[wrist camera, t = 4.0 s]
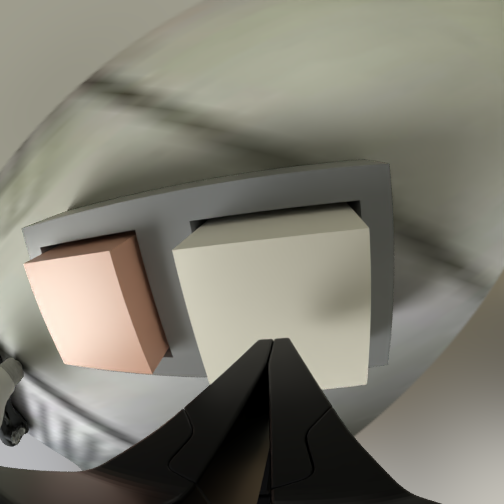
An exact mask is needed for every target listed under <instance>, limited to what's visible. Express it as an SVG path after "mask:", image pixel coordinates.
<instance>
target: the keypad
mask: <svg viewBox="0 0 504 504" xmlns="http://www.w3.org/2000/svg"><path fill="white" fill-rule="evenodd" d="M337 202H346V203H347V204H348V205H349V206H350V207H351V208H352V209H353V210H354V211H355V213H356V214H357V215H358V216H359V217H360V218H361V219H362V220H363V222H364V223H365V224H366V225H367V226H368V227H369V233H370V258H371V321H370V346H369V363H368V368H370V367H377V366H384V365H388V360H389V351H390V340H391V328H392V313H393V293H394V224H393V203H392V188H391V176H390V166H389V163H383V162H378V161H372V160H366V159H363V160H351V161H340V162H330V163H320V164H311V165H302V166H294V167H286V168H278V169H271V170H263V171H256V172H250V173H243V174H237V175H231V176H224V177H219V178H213V179H207V180H201V181H196V182H191V183H185V184H180V185H175V186H170V187H165V188H160V189H156V190H151V191H146V192H142V193H137V194H133V195H128V196H124V197H120V198H116V199H111V200H107V201H103V202H99V203H95V204H91V205H88V206H84V207H80V208H76V209H73V210H69V211H65V212H63V213H60V214H57V215H55V216H52V217H49V218H47V219H44V220H42V221H39V222H36V223H34V224H31V225H29V226H26V227H24V228H22V232H23V236H24V239H25V243H26V247H27V250H28V254H29V257H30V260H32V259H33V258H35V257H37V256H39V255H41V254H43V253H45V252H47V251H49V250H51V249H52V248H54V247H56V246H58V245H60V244H62V243H65V242H70V241H75V240H80V239H86V238H91V237H97V236H102V235H108V234H113V233H119V232H125V231H131V230H135V232H136V236H137V240H138V244H139V248H140V252H141V255H142V259H143V263H144V267H145V270H146V274H147V277H148V281H149V284H150V288H151V291H152V295H153V298H154V301H155V304H156V308H157V311H158V314H159V317H160V320H161V323H162V326H163V329H164V332H165V335H166V338H167V341H168V344H169V348H168V350H167V351H166V353H165V355H164V356H163V358H162V359H161V361H160V363H159V364H158V366H157V368H156V369H155V371H154V372H153V374H148V375H162V376H181V377H207V374H206V371H205V368H204V365H203V361H202V358H201V355H200V352H199V348H198V345H197V342H196V338H195V335H194V332H193V328H192V325H191V321H190V318H189V314H188V310H187V307H186V303H185V299H184V296H183V292H182V288H181V284H180V280H179V277H178V273H177V269H176V265H175V261H174V256H173V252H172V250H173V249H174V248H175V247H176V246H178V245H179V244H180V243H181V242H182V241H183V240H185V239H186V238H187V237H188V236H189V235H191V234H192V233H193V232H194V231H195V230H196V229H198V228H199V227H200V226H201V225H202V224H204V223H205V222H206V221H207V220H208V219H210V218H215V217H222V216H229V215H236V214H244V213H251V212H259V211H267V210H275V209H283V208H292V207H300V206H309V205H318V204H328V203H337ZM73 366H74V365H73ZM77 367H81V366H77ZM84 368H88V367H84ZM91 369H95V368H91ZM99 370H103V369H99ZM107 371H112V370H107ZM115 372H121V371H115ZM125 373H131V372H125ZM136 374H143V373H136Z"/></svg>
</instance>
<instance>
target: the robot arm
mask: <svg viewBox="0 0 504 504" xmlns="http://www.w3.org/2000/svg"><path fill="white" fill-rule="evenodd" d="M184 409H185V410H184ZM184 409H182V410H181V411H180V412H178V413H177V414H176V415H175V416H174V417H172V418H171V419H170V420H169V421H167V422H166V423H165V424H164V425H162V426H161V427H160V428H159V429H157V430H156V431H154V432H153V433H151V434H150V435H149V436H147V437H146V438H144V439H143V440H141V441H140V442H138V443H136V444H135V445H133V446H132V447H130V448H129V449H127V450H125V451H124V452H122V453H120V454H119V455H117V456H116V457H114V458H112V459H111V460H109V461H107V462H106V463H104V464H102V465H100V466H98V467H95V468H93V469H89V470H85V471H78V472H60V471H39V470H27V469H17V468H8V467H2V466H0V504H441V503H437V502H434V501H431V500H427V499H424V498H422V497H419V496H416V495H414V494H412V493H410V492H409V491H407V490H406V489H404V488H403V487H402V486H400V485H399V484H398V483H397V482H396V481H395V480H394V479H393V478H392V477H391V476H390V475H389V474H388V473H387V472H386V471H385V470H384V469H383V468H382V467H381V466H380V465H379V464H378V463H377V462H376V461H375V460H374V459H373V458H372V456H371V455H370V454H369V453H368V452H367V451H366V450H365V449H364V448H363V447H362V446H361V445H360V443H358V441H357V440H356V439H355V438H354V436H353V435H352V434H351V433H350V432H349V430H348V429H347V428H346V426H345V425H344V423H343V422H342V420H341V419H340V418H339V416H338V414H337V413H336V411H335V410H334V408H332V405H331V404H330V402H329V401H328V399H327V397H326V396H325V394H324V393H323V391H322V390H321V388H320V386H319V385H318V383H317V382H316V380H315V378H314V377H313V375H312V374H311V372H310V370H309V369H308V367H307V366H306V364H305V362H304V361H303V359H302V358H301V356H300V354H299V353H298V351H297V350H296V348H295V346H294V345H293V343H292V342H291V340H290V339H289V338H276V339H274V340H273V339H260V340H258V341H257V342H256V343H254V344H253V345H252V346H251V347H250V348H249V349H248V350H247V351H246V352H245V353H244V354H243V355H242V356H241V357H240V358H239V359H238V360H237V361H236V362H234V363H233V364H232V365H231V366H230V367H229V368H228V369H227V370H226V371H225V372H224V373H223V374H221V375H220V376H219V377H218V378H217V379H216V380H215V381H214V382H213V383H212V384H210V385H209V386H208V387H207V388H206V389H205V390H204V391H203V392H201V393H200V394H199V395H198V396H197V397H196V398H195V399H194V400H192V401H191V402H190V403H189V404H188V405H187V406H186V407H185V408H184ZM269 447H270V448H269Z"/></svg>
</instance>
